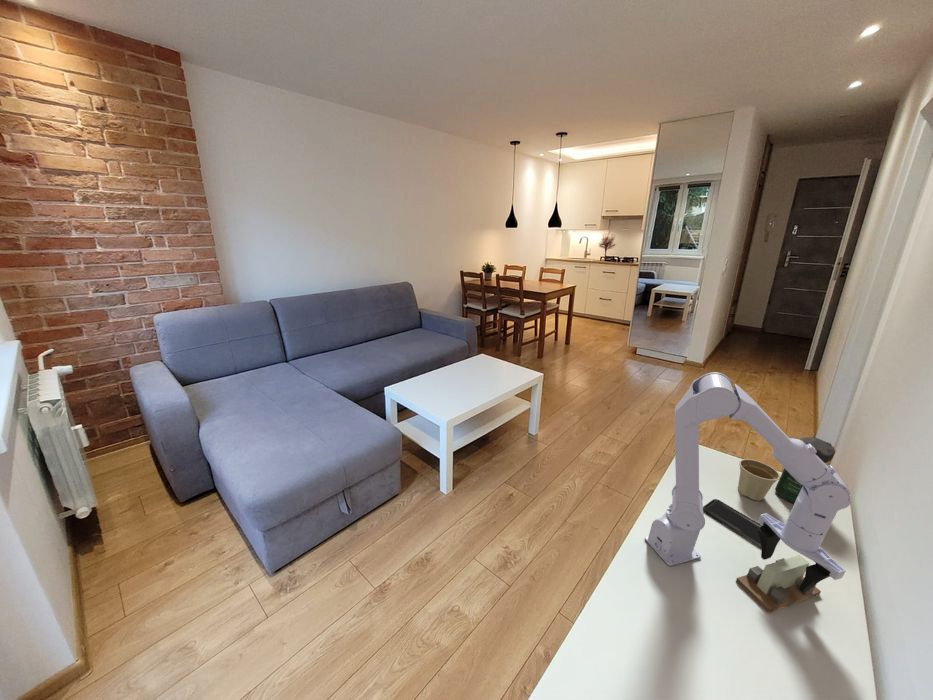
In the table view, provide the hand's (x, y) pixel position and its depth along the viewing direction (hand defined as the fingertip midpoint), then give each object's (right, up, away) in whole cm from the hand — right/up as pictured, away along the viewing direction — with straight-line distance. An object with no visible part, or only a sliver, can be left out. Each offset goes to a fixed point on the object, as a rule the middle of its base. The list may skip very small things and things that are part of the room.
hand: (784, 573), depth 77 cm
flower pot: (+16, +5, +30) cm, 34 cm away
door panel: (0, -3, +1) cm, 3 cm away
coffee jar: (+29, +4, +30) cm, 41 cm away
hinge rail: (0, -4, +1) cm, 4 cm away
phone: (+4, +1, +19) cm, 19 cm away
